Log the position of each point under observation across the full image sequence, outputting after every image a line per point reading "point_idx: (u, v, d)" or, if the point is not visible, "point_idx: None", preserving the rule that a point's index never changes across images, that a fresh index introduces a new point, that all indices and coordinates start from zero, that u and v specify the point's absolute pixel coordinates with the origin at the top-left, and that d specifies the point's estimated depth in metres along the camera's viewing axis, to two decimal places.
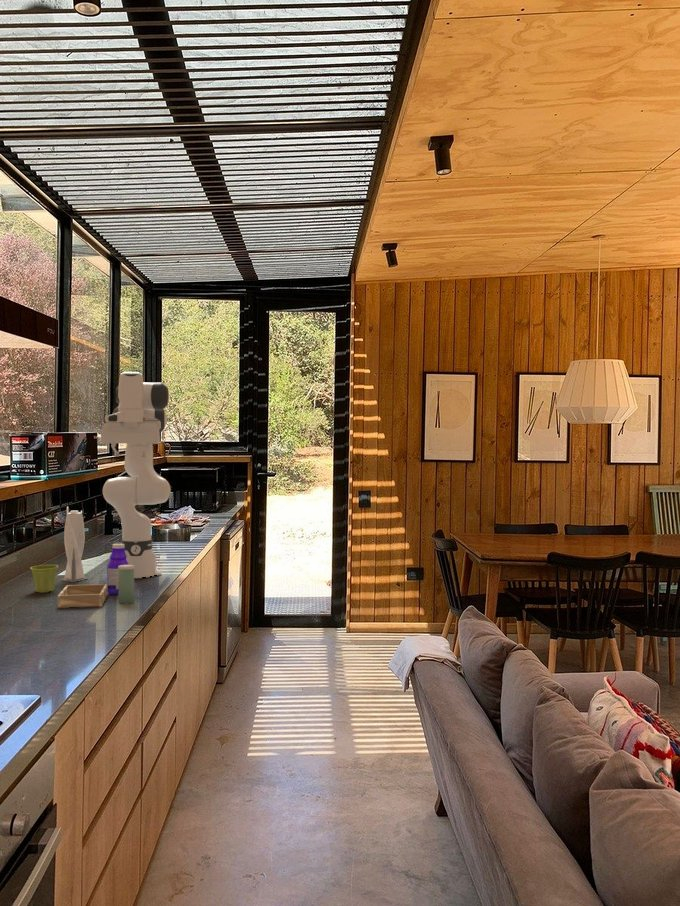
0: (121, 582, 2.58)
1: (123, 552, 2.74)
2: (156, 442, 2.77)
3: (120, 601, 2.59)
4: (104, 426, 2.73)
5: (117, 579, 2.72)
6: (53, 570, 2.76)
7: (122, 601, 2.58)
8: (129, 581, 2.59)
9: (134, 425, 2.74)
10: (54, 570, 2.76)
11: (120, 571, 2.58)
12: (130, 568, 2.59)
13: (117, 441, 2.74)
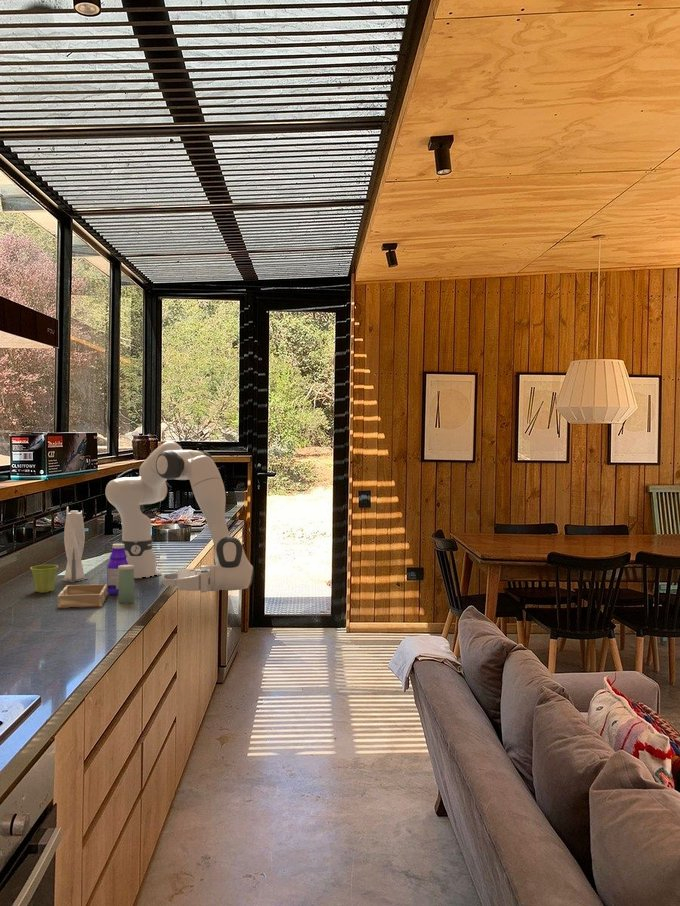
0: (121, 582, 2.58)
1: (123, 552, 2.74)
2: None
3: (120, 601, 2.59)
4: (195, 590, 2.56)
5: (117, 579, 2.72)
6: (53, 570, 2.76)
7: (122, 601, 2.58)
8: (129, 581, 2.59)
9: None
10: (54, 570, 2.76)
11: (120, 571, 2.58)
12: (130, 568, 2.59)
13: None
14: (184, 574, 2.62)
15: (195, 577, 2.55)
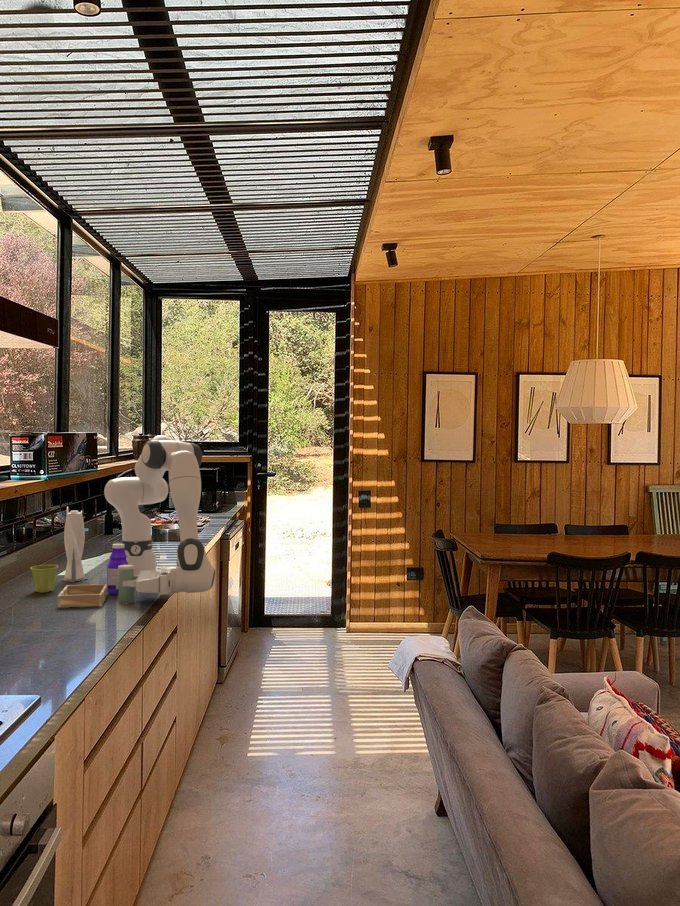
0: (121, 582, 2.58)
1: (123, 552, 2.74)
2: None
3: (120, 601, 2.59)
4: None
5: (117, 579, 2.72)
6: (53, 570, 2.76)
7: (122, 601, 2.58)
8: None
9: None
10: (54, 570, 2.76)
11: (120, 571, 2.58)
12: (130, 568, 2.59)
13: None
14: (144, 576, 2.60)
15: (154, 579, 2.53)
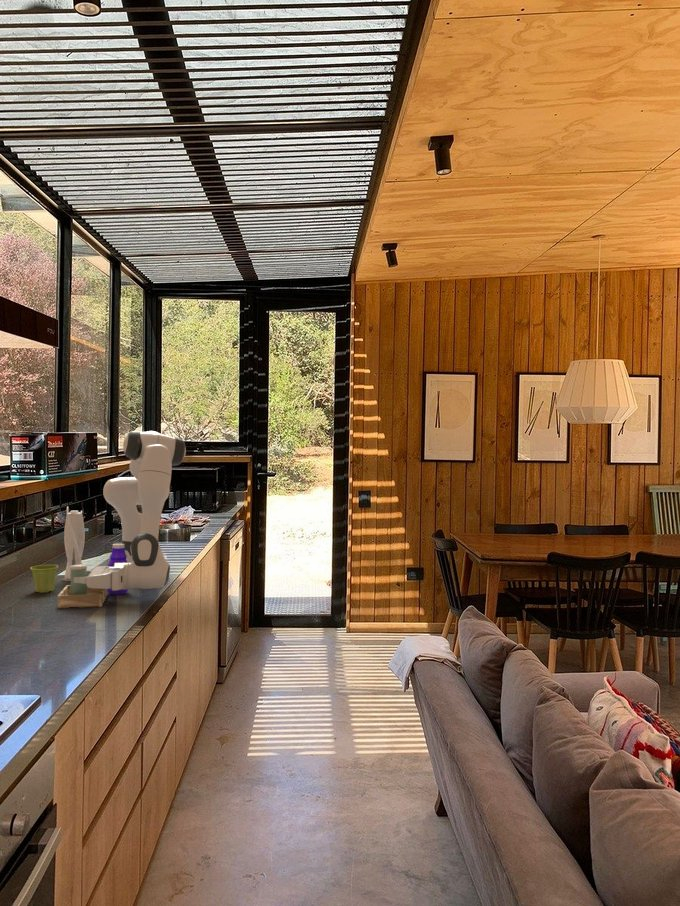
0: (72, 582, 2.54)
1: (123, 552, 2.74)
2: None
3: None
4: (106, 588, 2.50)
5: None
6: (53, 570, 2.76)
7: None
8: None
9: None
10: (54, 570, 2.76)
11: (72, 571, 2.54)
12: (82, 568, 2.55)
13: None
14: (97, 572, 2.56)
15: (106, 575, 2.49)
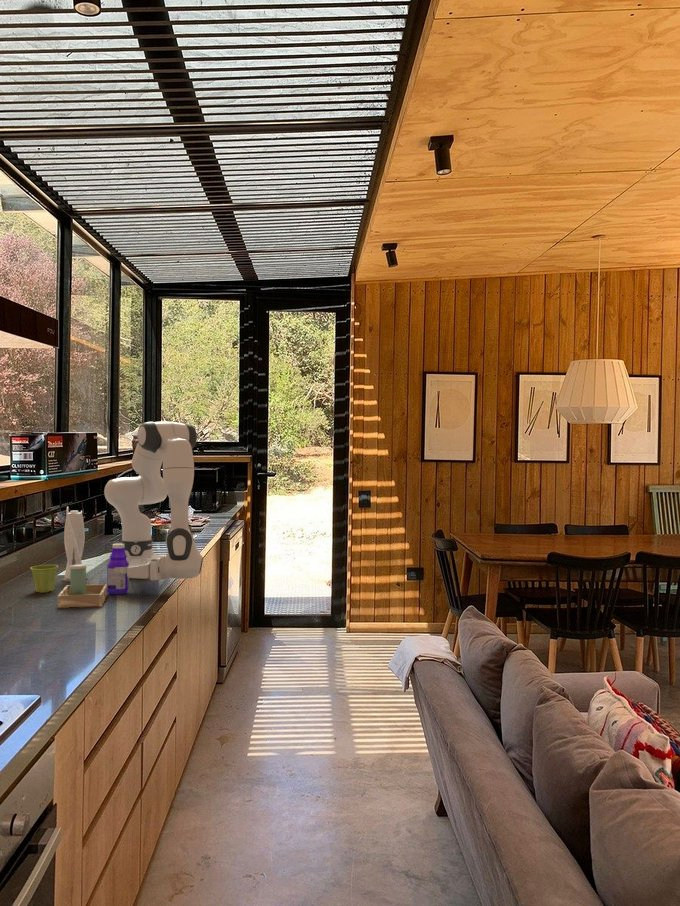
0: (72, 582, 2.55)
1: (123, 552, 2.74)
2: None
3: None
4: (144, 578, 2.68)
5: (117, 579, 2.72)
6: (53, 570, 2.76)
7: None
8: (81, 581, 2.55)
9: None
10: (54, 570, 2.76)
11: (72, 571, 2.55)
12: (82, 567, 2.55)
13: None
14: (135, 563, 2.74)
15: (144, 565, 2.67)
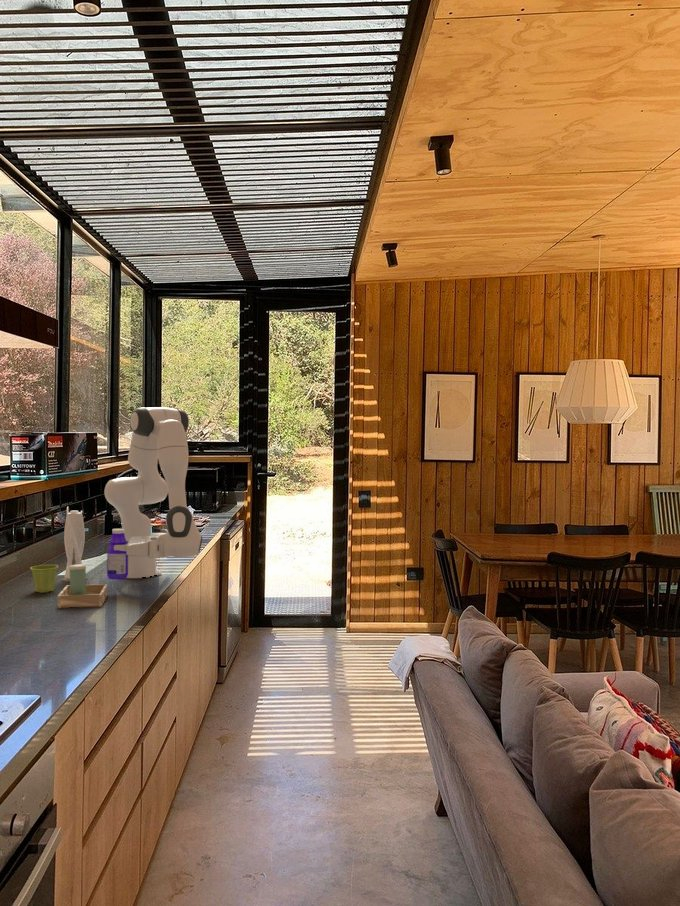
0: (72, 583, 2.54)
1: (123, 537, 2.74)
2: None
3: None
4: (144, 556, 2.68)
5: (118, 564, 2.72)
6: (53, 570, 2.76)
7: None
8: (81, 581, 2.55)
9: None
10: (54, 570, 2.76)
11: (71, 571, 2.54)
12: (82, 568, 2.55)
13: None
14: (135, 541, 2.74)
15: (144, 543, 2.67)
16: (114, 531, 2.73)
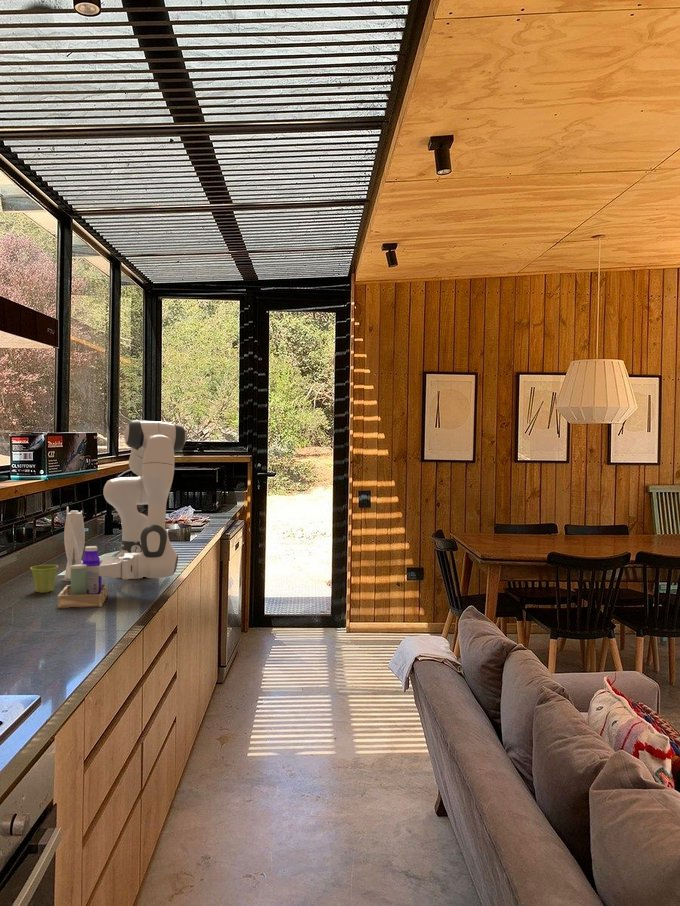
0: (74, 582, 2.55)
1: (96, 555, 2.64)
2: None
3: None
4: (116, 577, 2.58)
5: (90, 583, 2.62)
6: (53, 570, 2.76)
7: None
8: (83, 580, 2.56)
9: None
10: (54, 570, 2.76)
11: (73, 570, 2.55)
12: (84, 567, 2.56)
13: None
14: (107, 561, 2.64)
15: (116, 564, 2.58)
16: (86, 549, 2.62)
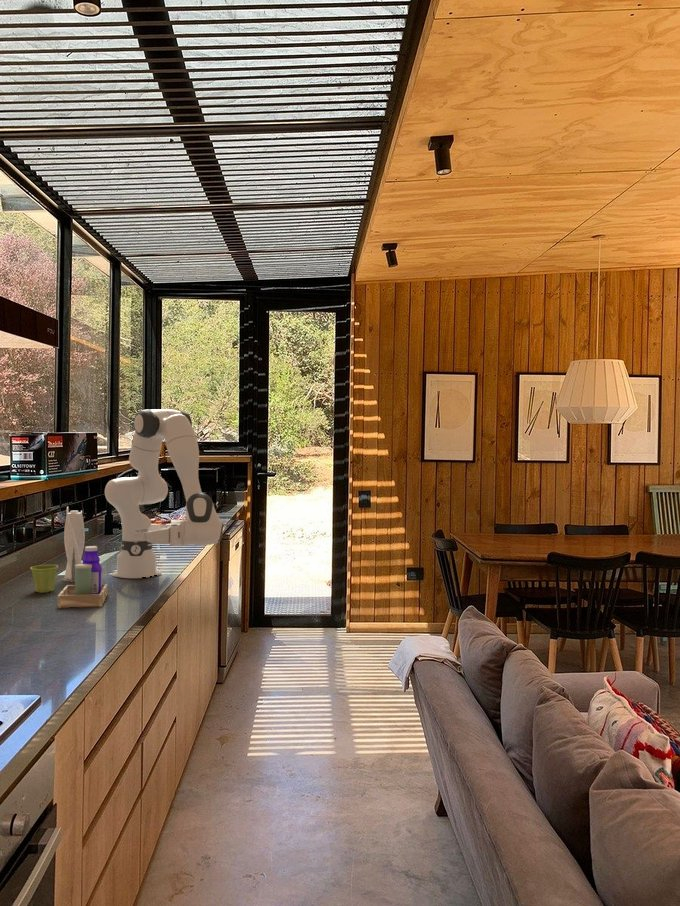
0: (79, 581, 2.56)
1: (96, 555, 2.64)
2: None
3: None
4: (165, 543, 2.61)
5: None
6: (53, 570, 2.76)
7: None
8: (88, 580, 2.57)
9: None
10: (54, 570, 2.76)
11: (78, 570, 2.56)
12: (89, 567, 2.57)
13: None
14: (154, 528, 2.67)
15: (165, 530, 2.60)
16: (86, 549, 2.62)
